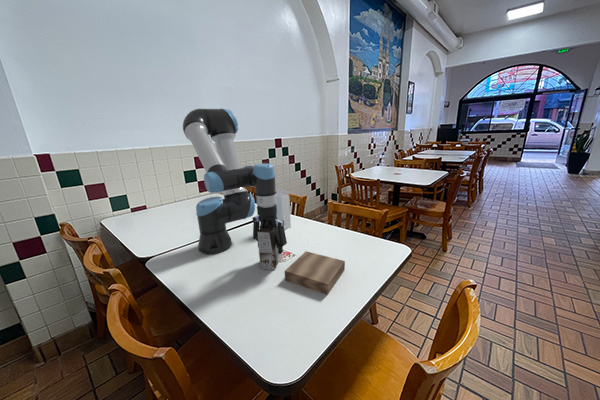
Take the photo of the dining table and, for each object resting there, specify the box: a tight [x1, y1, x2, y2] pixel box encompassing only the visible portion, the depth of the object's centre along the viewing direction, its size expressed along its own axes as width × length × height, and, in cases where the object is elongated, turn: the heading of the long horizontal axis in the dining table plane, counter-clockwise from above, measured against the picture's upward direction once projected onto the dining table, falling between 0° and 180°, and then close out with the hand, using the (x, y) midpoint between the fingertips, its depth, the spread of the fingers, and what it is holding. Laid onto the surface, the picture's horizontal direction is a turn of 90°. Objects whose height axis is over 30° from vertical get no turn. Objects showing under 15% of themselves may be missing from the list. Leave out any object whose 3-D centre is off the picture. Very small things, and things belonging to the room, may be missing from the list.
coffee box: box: [257, 224, 280, 271], centre depth 98 cm, size 9×6×16 cm
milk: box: [276, 188, 292, 231], centre depth 132 cm, size 6×6×22 cm
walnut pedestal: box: [284, 250, 346, 295], centre depth 91 cm, size 17×16×4 cm
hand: (270, 257), depth 99 cm, fingers closed on coffee box, 8 cm apart
